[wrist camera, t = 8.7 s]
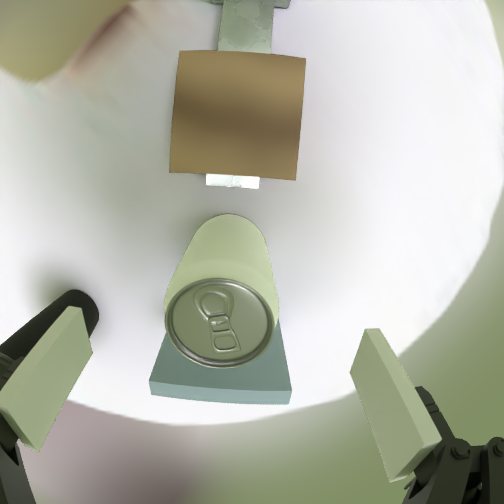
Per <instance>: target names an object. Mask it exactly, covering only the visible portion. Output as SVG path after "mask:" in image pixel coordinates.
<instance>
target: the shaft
mask: <svg viewBox="0 0 504 504" xmlns="http://www.w3.org/2000/svg"><path fill="white" fill-rule="evenodd" d="M290 1H291V0H212V3H223V10H222V17H221V25H220V33H219V41H218V49H217V51H241V52H256V53H267V54H270V48H271V36H272V24H273V12H274V7H283V8H288V7H289V4H290ZM206 185H212V186H229V187H244V188H257V189H258V188H259V177H250V176H236V175H219V174H207V177H206Z"/></svg>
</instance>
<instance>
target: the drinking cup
mask: <svg viewBox="0 0 504 504" xmlns="http://www.w3.org/2000/svg"><path fill="white" fill-rule="evenodd" d="M68 306H72V307H78V308H82V313H83V317H84V321H85V326H86V330H87V333H88V337H89V338H90V336H91V334H92V332H93V330H94V328H95V326H96V324H97V322H98V319H99V312H98V309H97V306H96V304H95V303H94V301H93V300H92V299H91V298H90V297H89V296H88V295H87V294H85V293H84V292H82V291H79V290H70V291H68V292H66V293H65V294H64V295H62V296H61V297H60V298H58V299H57V300H56V301H54V302H53V303H52V304H50V305H49V306H48V307H47V308H45V309H44V310H43V311H41V312H40V313H39V314H38V315H36V316H35V317H34V318H33V319H31V320H30V321H29V322H28V323H26V324H25V325H24V326H23V327H21V328H20V329H19V330H18V331H17V332H15V333H14V334H13V335H12V336H11V337H9V338H8V339H7V340H6V341H5V342H4V343H2V344H1V345H0V378H2V376H3V374H4V373H5V372H7V369H8V368H9V367H10V365H11V364H12V363H13V362H14V361H15V360H17V359H18V358H20V357H21V356H23V357H26V356H27V355H28V354H29V352H30V351H31V350H32V349H33V347H34V346H35V345H36V344H37V342H38V341H39V340H40V339H41V337H42V336H43V335H44V334H45V333H46V331H47V330H48V329H49V328H50V327H51V326H52V324H53V323H54V322H55V321H56V320H57V319H58V317H59V316H60V315H61V314H62V313H63V312H64V311H65V309H66V308H67V307H68Z"/></svg>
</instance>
